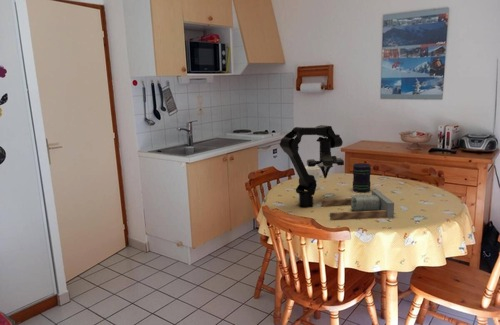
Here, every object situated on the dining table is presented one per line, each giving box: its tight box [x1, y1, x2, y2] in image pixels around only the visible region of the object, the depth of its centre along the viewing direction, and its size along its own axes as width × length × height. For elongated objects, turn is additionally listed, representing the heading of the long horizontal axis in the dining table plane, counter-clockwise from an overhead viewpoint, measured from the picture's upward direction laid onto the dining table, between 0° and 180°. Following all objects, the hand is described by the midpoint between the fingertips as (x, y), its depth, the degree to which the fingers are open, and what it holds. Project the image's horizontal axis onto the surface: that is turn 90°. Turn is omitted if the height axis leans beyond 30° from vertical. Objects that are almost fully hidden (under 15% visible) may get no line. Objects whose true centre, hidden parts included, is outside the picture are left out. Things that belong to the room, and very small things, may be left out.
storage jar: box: [352, 163, 372, 194], centre depth 219 cm, size 10×10×15 cm
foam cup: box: [305, 165, 321, 191], centre depth 227 cm, size 10×9×13 cm
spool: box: [350, 193, 380, 212], centre depth 186 cm, size 14×10×10 cm
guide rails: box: [321, 198, 387, 221], centre depth 187 cm, size 26×21×3 cm
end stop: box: [371, 189, 395, 219], centre depth 187 cm, size 3×22×7 cm, turn 1°
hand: (325, 178), depth 204 cm, fingers closed
